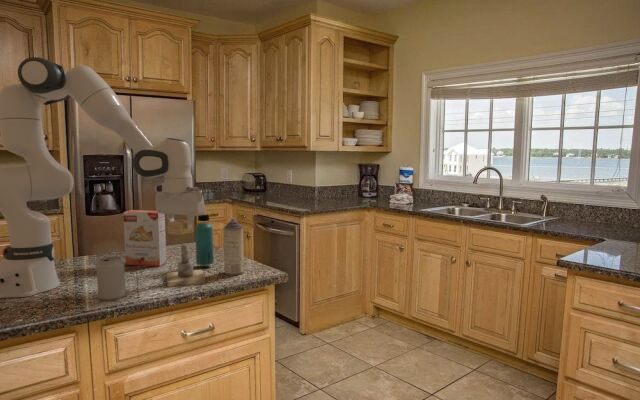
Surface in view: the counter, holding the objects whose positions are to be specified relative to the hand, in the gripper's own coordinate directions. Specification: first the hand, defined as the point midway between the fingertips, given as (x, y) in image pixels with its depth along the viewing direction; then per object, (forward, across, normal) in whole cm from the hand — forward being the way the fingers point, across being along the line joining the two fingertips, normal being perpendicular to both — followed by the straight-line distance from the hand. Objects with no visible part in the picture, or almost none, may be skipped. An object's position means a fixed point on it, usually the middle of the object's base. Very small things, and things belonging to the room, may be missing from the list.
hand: (180, 227), depth 148 cm
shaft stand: (+18, -1, 0) cm, 18 cm away
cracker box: (+17, +28, -7) cm, 33 cm away
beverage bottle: (+18, +6, -16) cm, 25 cm away
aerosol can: (+18, -9, -16) cm, 26 cm away
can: (+18, +5, +24) cm, 30 cm away
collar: (+2, 0, 0) cm, 2 cm away
